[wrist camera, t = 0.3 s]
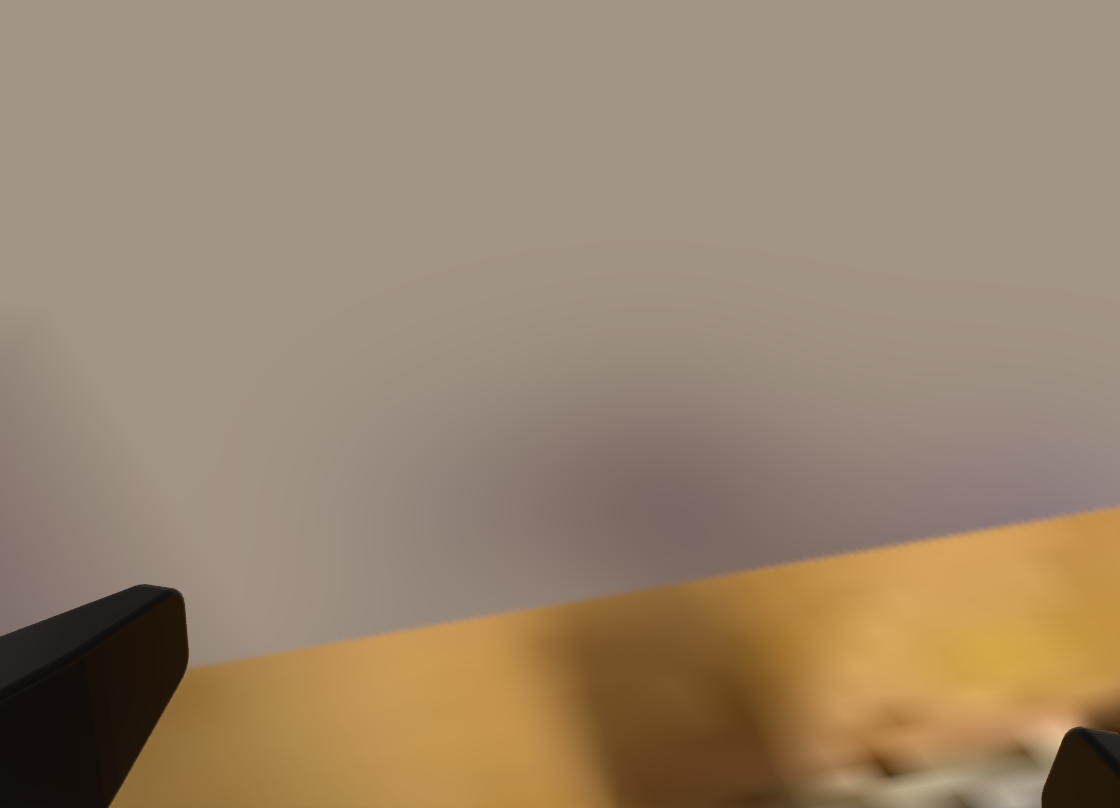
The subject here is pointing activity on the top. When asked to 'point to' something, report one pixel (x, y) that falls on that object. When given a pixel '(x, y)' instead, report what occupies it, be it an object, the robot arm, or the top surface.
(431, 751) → the top surface
